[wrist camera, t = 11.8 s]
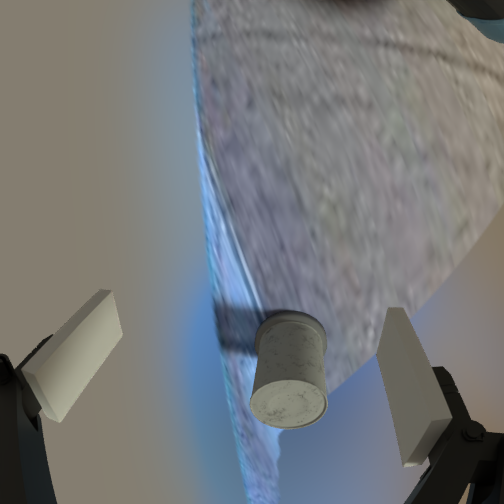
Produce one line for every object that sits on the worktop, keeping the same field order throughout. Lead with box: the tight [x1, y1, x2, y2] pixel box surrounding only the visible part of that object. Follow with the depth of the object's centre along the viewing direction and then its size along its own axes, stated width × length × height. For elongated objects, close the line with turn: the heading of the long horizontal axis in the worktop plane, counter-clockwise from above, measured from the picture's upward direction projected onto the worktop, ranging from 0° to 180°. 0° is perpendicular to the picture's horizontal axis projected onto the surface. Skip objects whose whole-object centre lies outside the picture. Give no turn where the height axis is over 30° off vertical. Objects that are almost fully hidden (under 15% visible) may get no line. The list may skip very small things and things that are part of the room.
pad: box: [255, 311, 327, 356], centre depth 48 cm, size 11×11×2 cm
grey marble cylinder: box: [250, 321, 328, 429], centre depth 42 cm, size 10×10×12 cm
